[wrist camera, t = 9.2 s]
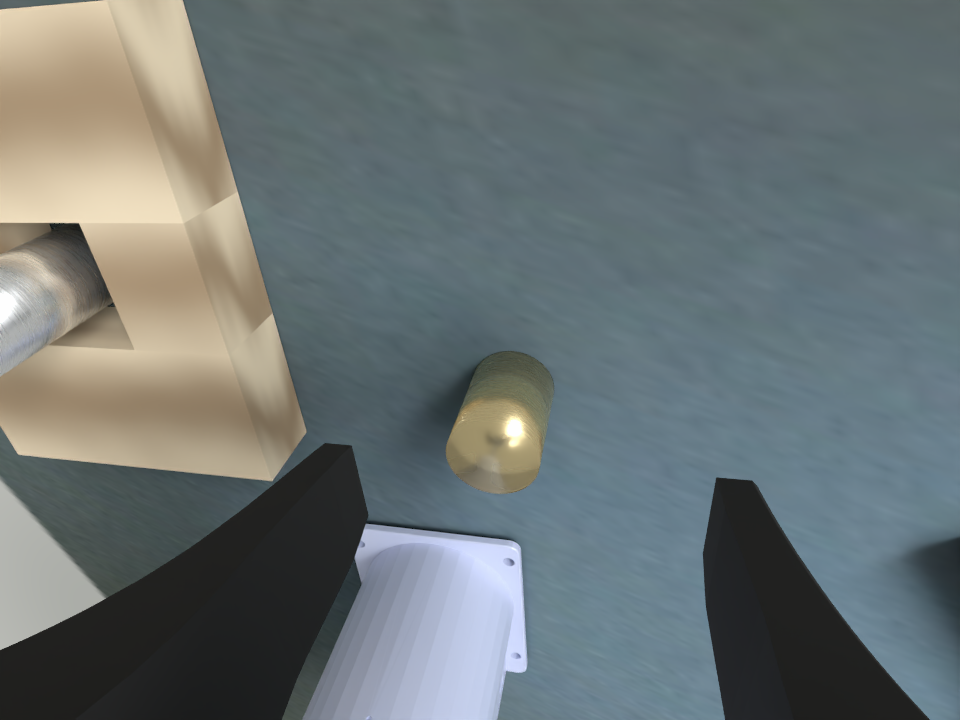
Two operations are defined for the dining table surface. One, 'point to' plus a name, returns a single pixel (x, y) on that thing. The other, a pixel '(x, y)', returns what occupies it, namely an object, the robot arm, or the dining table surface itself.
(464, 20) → the dining table surface
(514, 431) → the short pin
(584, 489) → the dining table surface
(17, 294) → the long pin
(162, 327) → the hole block
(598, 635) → the dining table surface
